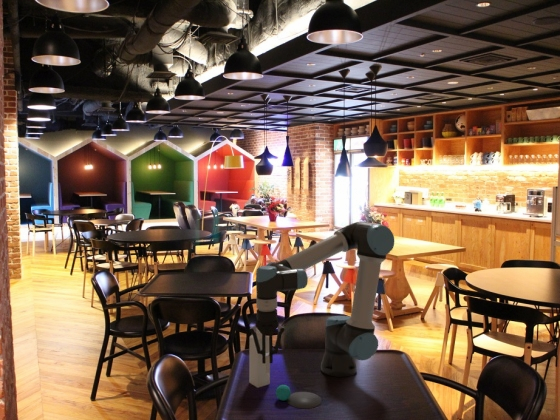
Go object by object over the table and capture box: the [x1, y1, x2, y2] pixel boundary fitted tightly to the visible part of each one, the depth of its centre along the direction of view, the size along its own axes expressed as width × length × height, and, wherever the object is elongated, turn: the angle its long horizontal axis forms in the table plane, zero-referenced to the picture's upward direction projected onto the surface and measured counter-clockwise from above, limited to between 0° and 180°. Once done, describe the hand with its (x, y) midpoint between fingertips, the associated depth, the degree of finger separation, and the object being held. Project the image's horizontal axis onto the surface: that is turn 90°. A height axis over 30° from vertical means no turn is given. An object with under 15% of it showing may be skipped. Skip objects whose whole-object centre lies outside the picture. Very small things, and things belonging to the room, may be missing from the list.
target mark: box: [286, 391, 322, 409], centre depth 183 cm, size 13×13×1 cm
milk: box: [248, 328, 271, 388], centre depth 196 cm, size 6×6×22 cm
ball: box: [275, 384, 292, 401], centre depth 183 cm, size 6×6×6 cm
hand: (267, 371), depth 182 cm, fingers closed
